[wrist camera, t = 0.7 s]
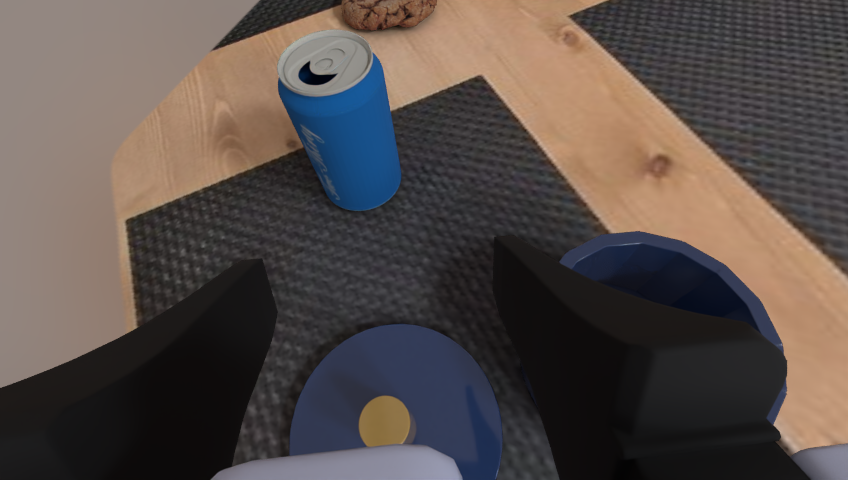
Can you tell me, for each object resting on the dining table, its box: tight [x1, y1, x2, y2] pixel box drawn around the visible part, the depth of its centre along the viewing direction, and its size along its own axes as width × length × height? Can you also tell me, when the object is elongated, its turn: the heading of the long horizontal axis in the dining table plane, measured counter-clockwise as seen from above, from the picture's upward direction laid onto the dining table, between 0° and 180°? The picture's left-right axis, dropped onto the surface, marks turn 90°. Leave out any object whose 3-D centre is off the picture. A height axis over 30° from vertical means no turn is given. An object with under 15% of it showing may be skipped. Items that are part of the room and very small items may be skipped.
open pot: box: [520, 231, 787, 425], centre depth 23 cm, size 12×12×6 cm
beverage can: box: [277, 30, 401, 211], centre depth 28 cm, size 6×6×12 cm
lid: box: [289, 324, 503, 480], centre depth 22 cm, size 13×13×5 cm
